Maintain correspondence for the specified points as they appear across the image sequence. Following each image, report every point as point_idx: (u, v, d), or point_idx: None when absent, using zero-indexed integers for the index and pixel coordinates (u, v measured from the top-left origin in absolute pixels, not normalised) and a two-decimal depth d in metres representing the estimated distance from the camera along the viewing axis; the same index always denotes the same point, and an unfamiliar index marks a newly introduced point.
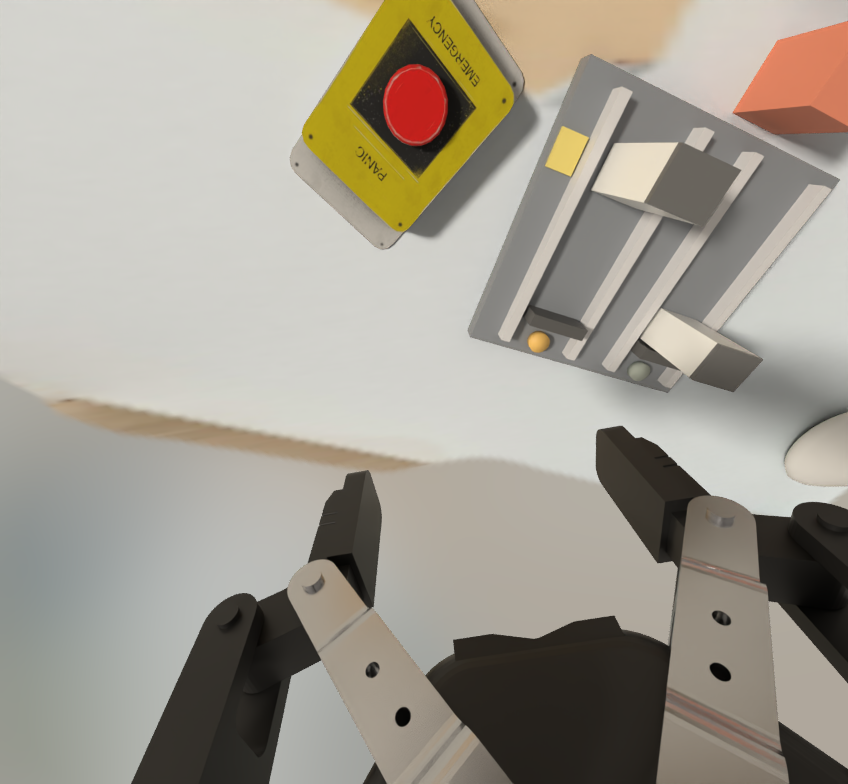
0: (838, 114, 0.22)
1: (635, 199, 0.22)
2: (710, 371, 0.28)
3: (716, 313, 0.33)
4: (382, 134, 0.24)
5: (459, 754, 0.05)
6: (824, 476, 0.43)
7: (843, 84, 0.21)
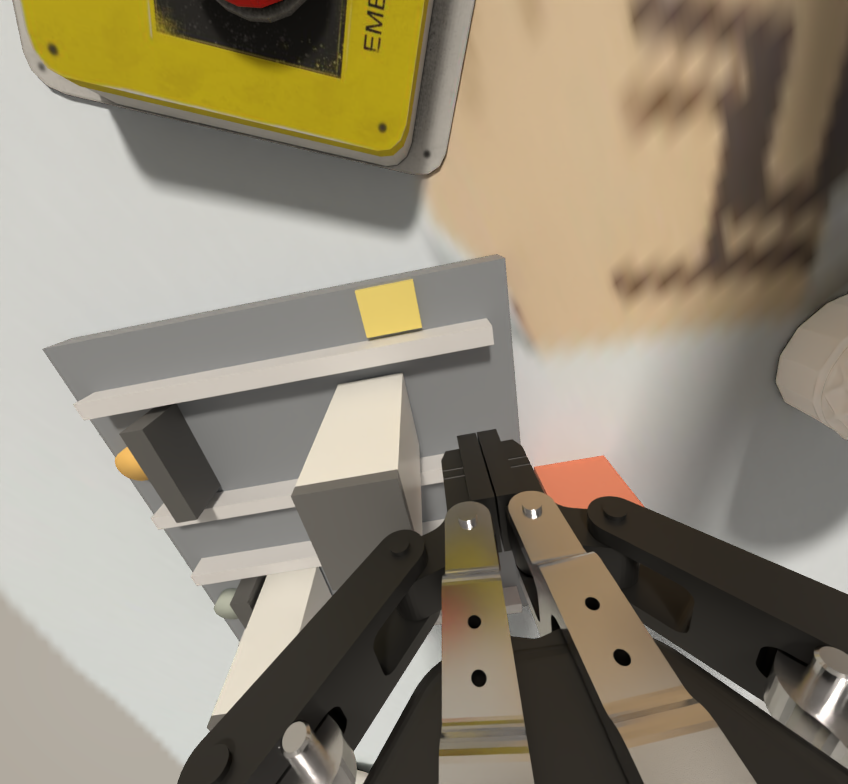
0: None
1: (305, 466, 0.11)
2: None
3: None
4: None
5: (459, 754, 0.05)
6: None
7: None
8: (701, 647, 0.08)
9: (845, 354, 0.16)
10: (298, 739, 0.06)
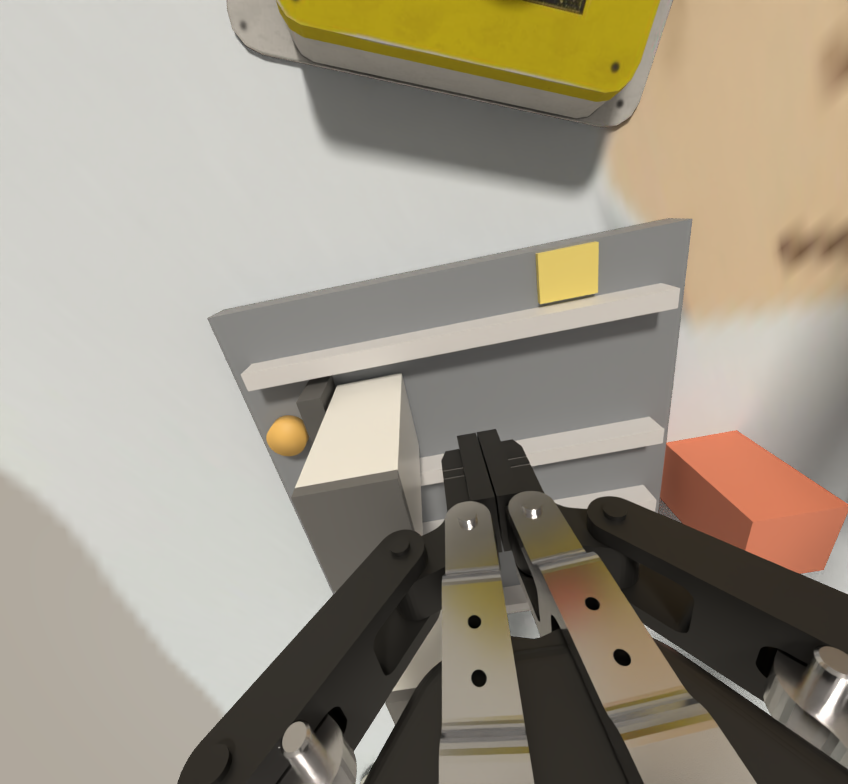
0: None
1: (304, 467, 0.11)
2: None
3: None
4: None
5: (459, 754, 0.05)
6: None
7: (780, 534, 0.16)
8: (701, 647, 0.08)
9: None
10: (298, 739, 0.06)
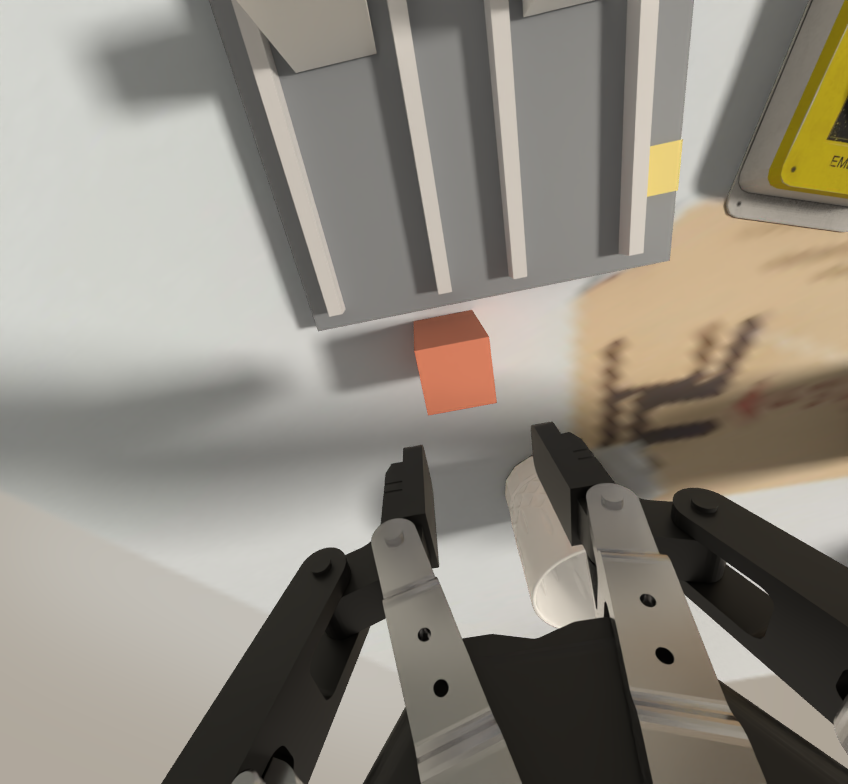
0: (451, 348, 0.20)
1: None
2: None
3: (282, 102, 0.18)
4: None
5: (459, 754, 0.05)
6: None
7: (472, 364, 0.20)
8: (775, 657, 0.07)
9: None
10: None
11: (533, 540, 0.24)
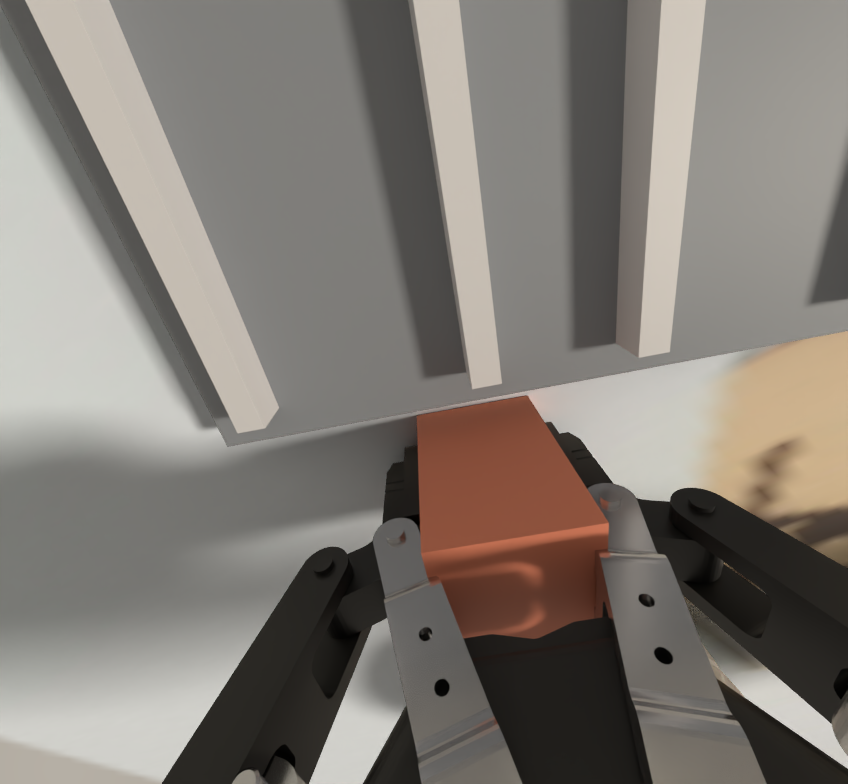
0: (513, 545, 0.08)
1: None
2: None
3: None
4: None
5: (459, 754, 0.05)
6: None
7: (561, 573, 0.08)
8: (773, 657, 0.07)
9: None
10: None
11: None
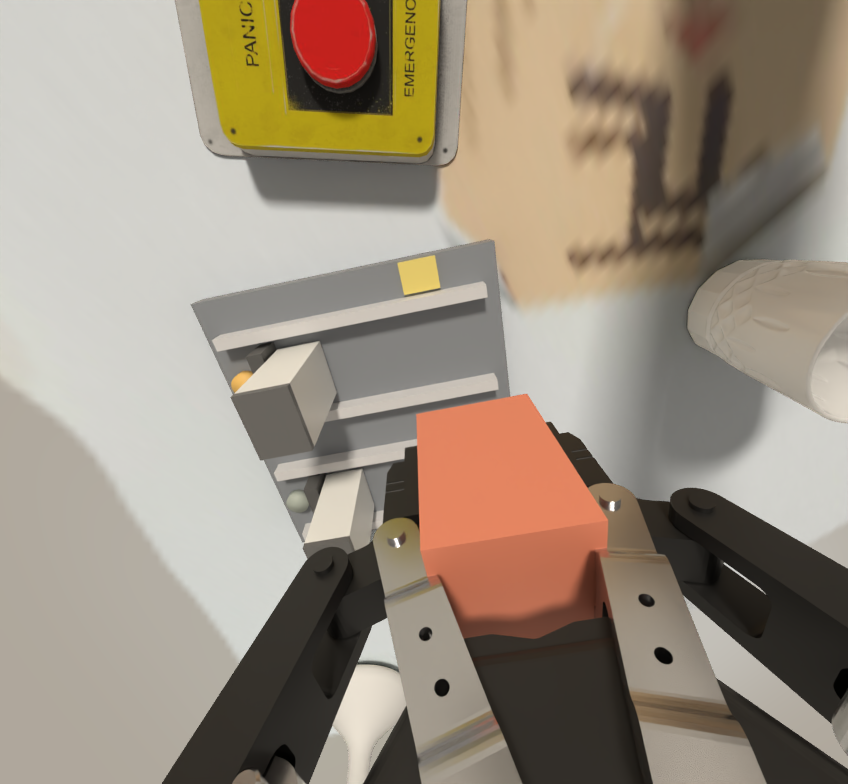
0: (512, 543, 0.08)
1: (242, 386, 0.20)
2: None
3: None
4: (284, 23, 0.18)
5: (459, 754, 0.05)
6: None
7: (560, 571, 0.08)
8: (773, 656, 0.07)
9: (720, 303, 0.24)
10: None
11: None
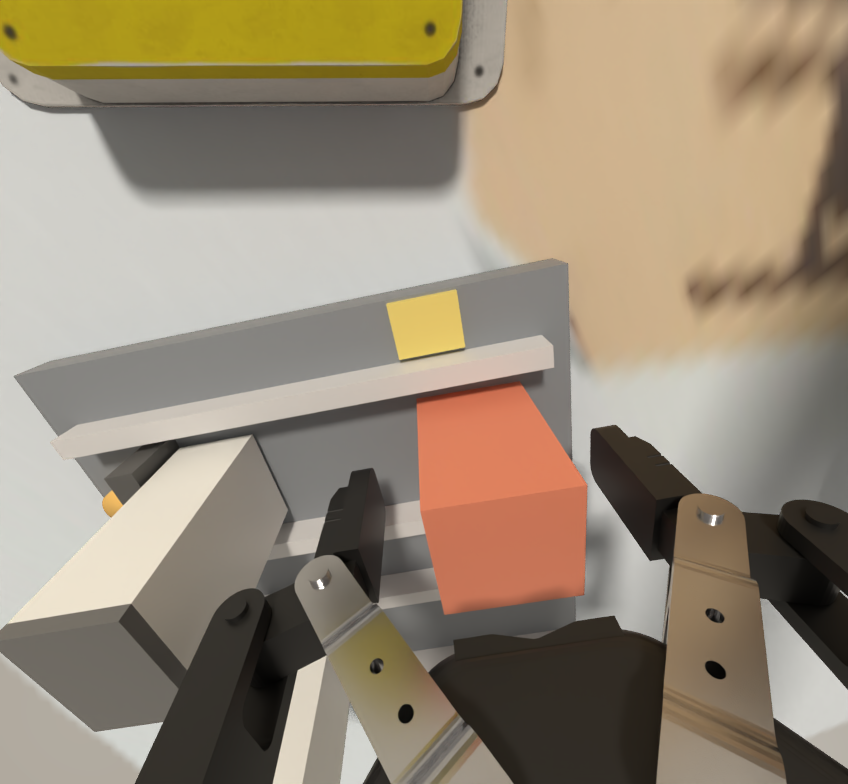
0: (502, 505, 0.09)
1: (45, 586, 0.09)
2: None
3: None
4: None
5: (459, 754, 0.05)
6: None
7: (545, 533, 0.09)
8: None
9: None
10: None
11: None
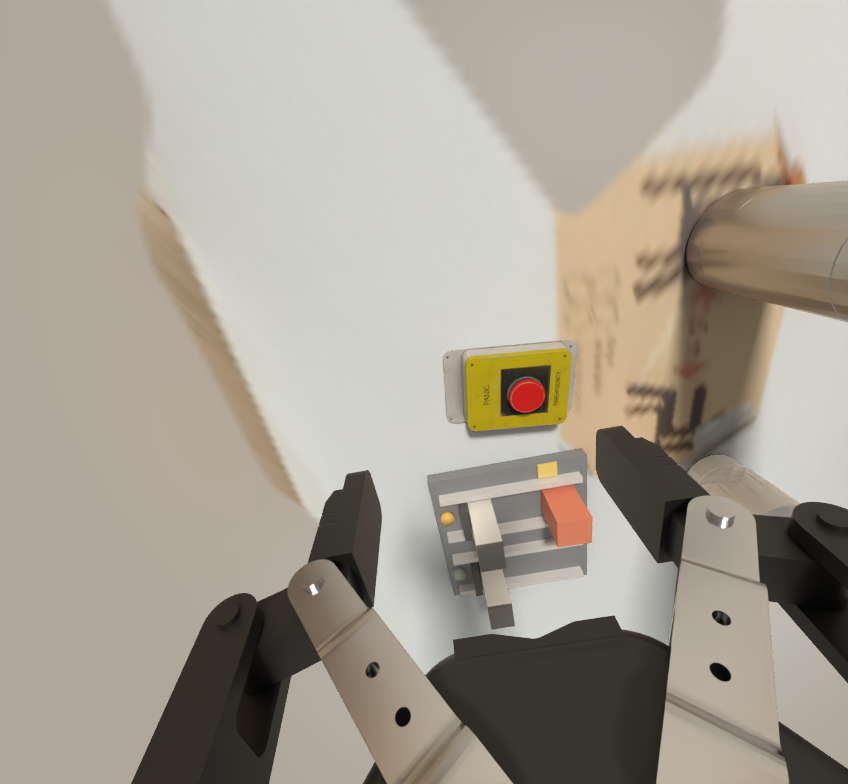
0: (574, 521, 0.42)
1: (475, 538, 0.43)
2: (496, 612, 0.46)
3: (510, 581, 0.54)
4: (502, 389, 0.40)
5: (459, 754, 0.05)
6: None
7: (583, 527, 0.43)
8: None
9: (701, 483, 0.47)
10: None
11: None
